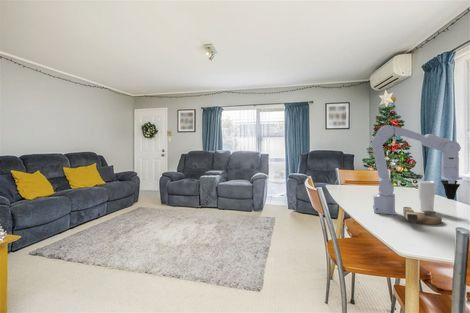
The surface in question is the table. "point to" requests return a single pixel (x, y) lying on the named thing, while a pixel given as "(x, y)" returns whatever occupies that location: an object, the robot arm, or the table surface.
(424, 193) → the drinking glass
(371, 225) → the table surface
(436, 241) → the table surface
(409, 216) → the folding leg
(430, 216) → the stool seat
